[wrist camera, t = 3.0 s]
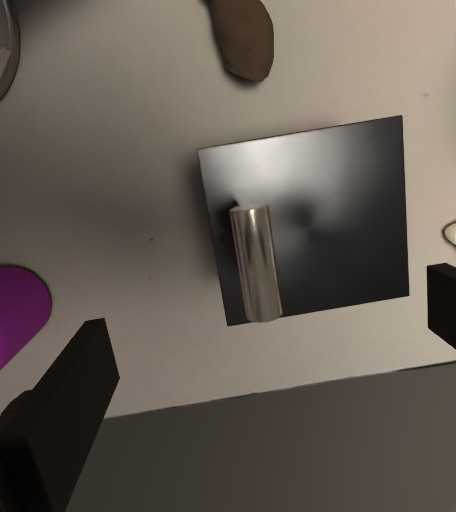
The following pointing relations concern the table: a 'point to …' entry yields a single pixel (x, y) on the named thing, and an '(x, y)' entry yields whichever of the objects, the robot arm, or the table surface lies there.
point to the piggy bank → (451, 233)
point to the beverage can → (20, 310)
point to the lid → (308, 219)
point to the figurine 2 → (244, 36)
